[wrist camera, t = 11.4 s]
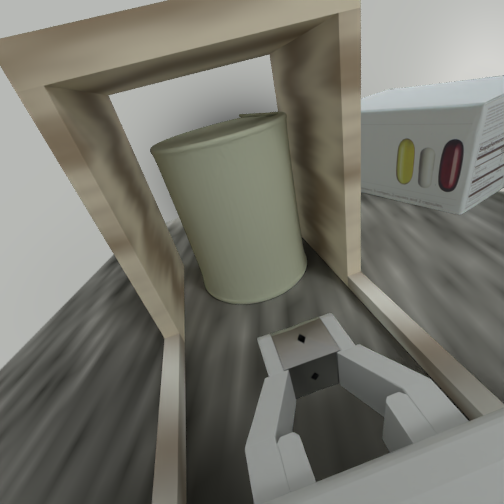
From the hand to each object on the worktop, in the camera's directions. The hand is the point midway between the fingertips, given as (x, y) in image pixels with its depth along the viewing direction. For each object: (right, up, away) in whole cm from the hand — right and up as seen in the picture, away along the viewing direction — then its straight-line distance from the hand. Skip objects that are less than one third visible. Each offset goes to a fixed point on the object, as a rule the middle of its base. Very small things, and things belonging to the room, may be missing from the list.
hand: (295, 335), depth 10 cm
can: (-1, +2, +13) cm, 13 cm away
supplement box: (+18, +12, +22) cm, 31 cm away
